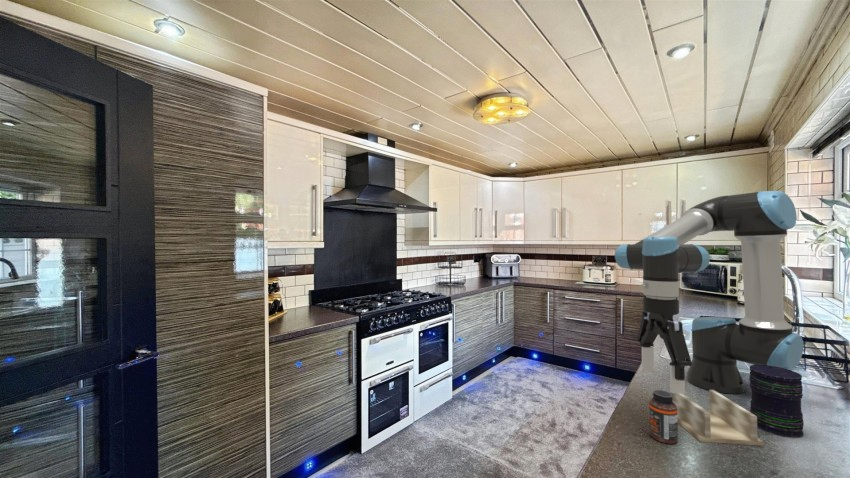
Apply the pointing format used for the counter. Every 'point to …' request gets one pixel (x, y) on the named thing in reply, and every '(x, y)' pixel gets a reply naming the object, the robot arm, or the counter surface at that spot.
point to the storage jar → (777, 400)
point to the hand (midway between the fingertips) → (661, 381)
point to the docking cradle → (717, 420)
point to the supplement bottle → (663, 417)
